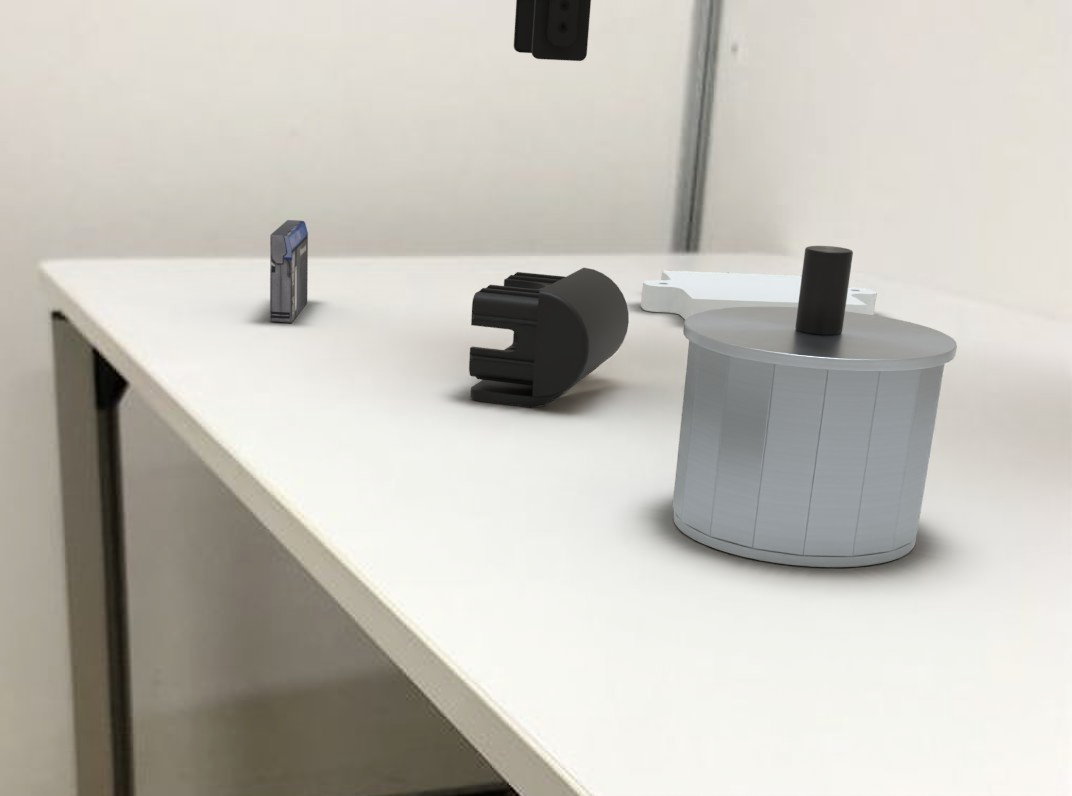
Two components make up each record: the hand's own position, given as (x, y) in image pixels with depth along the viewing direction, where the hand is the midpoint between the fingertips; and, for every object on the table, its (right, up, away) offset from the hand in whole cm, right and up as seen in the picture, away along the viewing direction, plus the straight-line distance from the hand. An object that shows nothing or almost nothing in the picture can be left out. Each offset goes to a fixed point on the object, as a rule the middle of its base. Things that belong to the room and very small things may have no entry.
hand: (548, 56), depth 99 cm
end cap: (0, -21, -2) cm, 21 cm away
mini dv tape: (-18, -12, +18) cm, 28 cm away
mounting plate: (+18, -11, +26) cm, 33 cm away
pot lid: (+10, -23, -29) cm, 38 cm away
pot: (+9, -31, -26) cm, 41 cm away
